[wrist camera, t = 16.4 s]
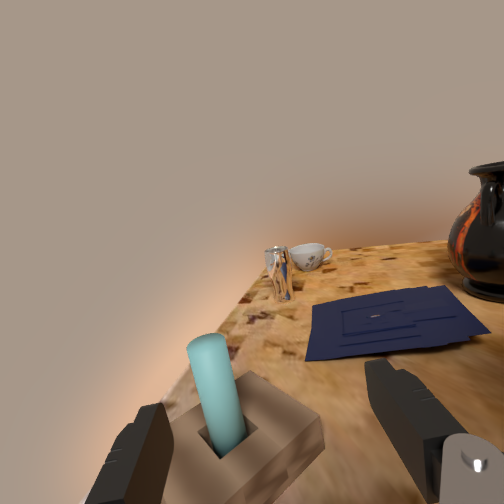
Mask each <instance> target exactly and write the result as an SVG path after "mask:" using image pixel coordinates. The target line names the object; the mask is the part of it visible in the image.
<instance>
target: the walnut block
mask: <svg viewBox="0 0 504 504" xmlns="http://www.w3.org/2000/svg"><path fill="white" fill-rule="evenodd" d="M235 384H236V388H237V393H238V397H239V401H240V406H241V410H242V414H243V419H244V423H245V427H246V432H247V436H248V437H247V438H246V439H245V440H244V441H242V442H241V443H240V444H239V445H237V446H236V447H235V448H234V449H233V450H231V451H230V452H229V453H228V454H226V455H225V456H224V457H223V458H222V459H219V458H218V457H217V456H216V454H215V453H214V450H213V446H212V443H211V439H210V435H209V431H208V428H207V424H206V420H205V417H204V413H203V409H202V405H201V403H200V404H198V405H197V406H195V407H194V408H192V409H190V410H189V411H187V412H186V413H184V414H183V415H181V416H180V417H178V418H177V419H175V420H174V421H172V422H171V423H170V426H171V429H172V432H173V437H174V452H173V456H172V460H171V464H170V468H169V472H168V476H167V480H166V484H165V488H164V493H163V497H162V501H161V504H272V503H273V502H274V501H275V500H276V499H277V498H278V497H279V496H280V495H281V494H282V493H283V492H284V491H285V490H286V488H287V487H288V486H289V485H290V484H291V483H292V482H293V481H294V480H295V479H296V478H297V477H298V476H299V475H300V474H301V473H302V472H303V471H304V470H305V469H306V468H307V467H308V466H309V464H310V463H311V462H312V461H313V460H314V459H315V458H316V457H317V456H318V455H319V454H320V453H321V452H322V451H323V450H324V449H325V447H324V440H323V434H322V428H321V422H320V416H319V415H318V414H317V413H315V412H314V411H312V410H311V409H309V408H308V407H306V406H305V405H303V404H301V403H300V402H298V401H297V400H295V399H294V398H292V397H291V396H289V395H288V394H286V393H284V392H283V391H281V390H280V389H278V388H277V387H275V386H274V385H272V384H271V383H269V382H267V381H266V380H264V379H263V378H261V377H260V376H258V375H257V374H255V373H254V372H252V371H248V372H247V373H245V374H244V375H242V376H241V377H239V378H238V379H236V380H235Z"/></svg>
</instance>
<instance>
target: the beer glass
mask: <svg viewBox="0 0 504 504" xmlns="http://www.w3.org/2000/svg"><path fill="white" fill-rule="evenodd" d="M265 260H266V267H267V271H268V274H269V277H270V280H271V282H272V285H273V289H274V301H275V303H277V304H287V303H290V302H292V301H294V300H295V295H294V292H293V289H292V265H291V259H290V255H289V251H288V247H286V246H280V247H273V248H270V249H267V250H265Z"/></svg>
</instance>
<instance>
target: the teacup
mask: <svg viewBox="0 0 504 504" xmlns="http://www.w3.org/2000/svg"><path fill="white" fill-rule="evenodd" d="M326 251H329V252H330V255H329V257H327V258H325V259H323V257H324V254H325V253H326ZM289 253H290V256H291V258H292V260H293V262H294V263H295V264H296V266H298V267H299V268H300V269H301V270H303V271H312V270H315V269H316V268H317V267H318V266H319V265H320V263H321V262H323V261H326V260H328V259H330V258H331V256H332V250H331V249H330V248H326V249H324V245H321V244H318V243H311V244H303V245H299V246H296V247H293V248H292V249H290V250H289Z"/></svg>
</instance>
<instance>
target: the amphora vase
mask: <svg viewBox="0 0 504 504" xmlns="http://www.w3.org/2000/svg"><path fill="white" fill-rule="evenodd" d="M469 174H470V175H475V176H477V177H479V178H480V182H481V190H480V192H479V193H478V195H477V196H476V197H475V199H474V200H473V201H472V202H471V203H470V204H469V205H468V206H467V207H466V208H465V209H464V210H463V211H462V212H461V213H460V214H459V216H458V217H457V218H456V220H455V222H454V224H453V226H452V229H451V232H450V235H449V240H448V246H447V247H448V256H449V259H450V261H451V263H452V264H453V265H454V267H455V268H456V269H457V270H458V271H459V273H461V274H462V275H463V276H464V278H463V280H462V286H463V288H464V289H465V290H466V291H467V292H469V293H470V294H472V295H474V296H477V297H479V298H482V299H486V300H490V301H495V302H501V303H504V161H502V162H496V163H490V164H485V165H480V166H476V167H473V168H471V169H470V170H469Z"/></svg>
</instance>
